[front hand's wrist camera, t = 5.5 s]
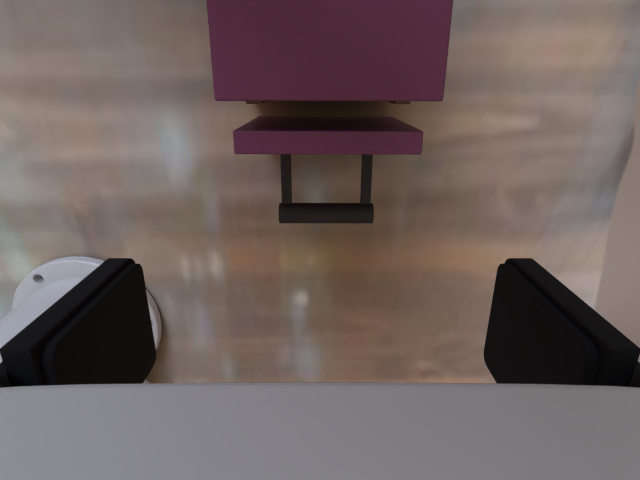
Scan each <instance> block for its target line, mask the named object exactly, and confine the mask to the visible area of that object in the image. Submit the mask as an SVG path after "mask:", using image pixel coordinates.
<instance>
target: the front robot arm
mask: <svg viewBox="0 0 640 480" xmlns="http://www.w3.org/2000/svg"><path fill="white" fill-rule="evenodd" d="M161 331H162V324H161V318H160V313H159V311H158V308H157V306H156V303H155V301H154V300H153V298H152V297H151V295H150V293H149V292H148V291H147V290H146V287H145V281H144V275H143V270H142V267H141V265H140V264H135V262H134V260H133V259H130V258H109V259H107V260H106V261H103V260H100V259H95V258H90V257H80V256H70V257H63V258H58V259H55V260H52V261H49V262H46V263H45V264H43V265H41V266H40V267H38V268H36V269H35V270H33V271H32V272H31V273H30V274H29V275H27V276H26V277H25V278H24V279H23V281H22V282H21V283H20V285H19V286H18V288H17V290H16V292H15V295H14V297H13V304H12V311H11V312H9V313H8V314H7V315H5V316H4V317H2V318H1V319H0V480H640V363H639V362H638V358H639V355H640V348H639V347H637V346H636V345H635V344H634V343H633V342H632V341H630V340H629V339H628V338H627V337H626V336H624V335H623V334H622V333H621V332H620V331H618V330H617V329H616V328H615V327H614V326H612V325H611V324H610V323H609V322H608V321H606V320H605V319H604V318H603V317H602V316H600V315H599V314H598V313H597V312H596V311H594V310H593V309H592V308H591V307H590V306H588V305H587V304H586V303H585V302H584V301H582V300H581V299H580V298H579V297H578V296H576V295H575V294H574V293H573V292H572V291H570V290H569V289H568V288H567V287H566V286H564V285H563V284H562V283H561V282H560V281H558V280H557V279H556V278H555V277H554V276H552V275H551V274H550V273H549V272H548V271H546V270H545V269H544V268H543V267H542V266H540V265H539V264H538V263H537V262H536V261H534V260H533V259H531V258H510V259H507V260H506V262H505V264H500V265H499V267H498V270H497V275H496V281H495V287H494V293H493V299H492V305H491V311H490V317H489V323H488V329H487V335H486V341H485V347H484V360H485V363H486V365H487V367H488V369H489V371H490V372H491V374H492V376H493V377H494V379H495V381H496V383H497V384H486V383H358V382H298V383H156V384H151V383H150V382H149V381H148V380H146V377H147V376H148V374H149V372H150V371H151V369H152V367H153V365H154V363H155V360H156V350H157V349H158V346H159V343H160V339H161Z"/></svg>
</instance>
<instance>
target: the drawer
mask: <svg viewBox="0 0 640 480" xmlns="http://www.w3.org/2000/svg"><path fill="white" fill-rule="evenodd" d="M264 102H266V101H246V103H247V104H261V103H264ZM387 102H391V103H394V104H410V103H411V101H387ZM233 137H234V152H235V154H281V184H282V203H280V204H279V222H280V223H372V222H373V217H374V208H373V204H372V203H370V199H371V178H372V156H373V154H421V152H422V141H423V131H421V130H419V129H417V128H415V127H412V126H410V125H408V124H406V123H404V122H402V121H400V120H398V119H396V118H393V117H311V116H259V117H257V118H255V119H253V120H252V121H250V122H248V123H247V124H245V125H243V126H241V127H240V128H238V129H236V130H234V131H233ZM291 154H362V172H361V198H360V202H361V203H292V187H291Z"/></svg>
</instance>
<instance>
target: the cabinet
mask: <svg viewBox="0 0 640 480" xmlns="http://www.w3.org/2000/svg"><path fill="white" fill-rule="evenodd" d="M452 6H453V0H207V11H208V23H209V35H210V47H211V59H212V71H213V84H214V96H215V100H216V101H442V100H443V94H444V85H445V75H446V65H447V55H448V45H449V35H450V26H451V16H452Z"/></svg>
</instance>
